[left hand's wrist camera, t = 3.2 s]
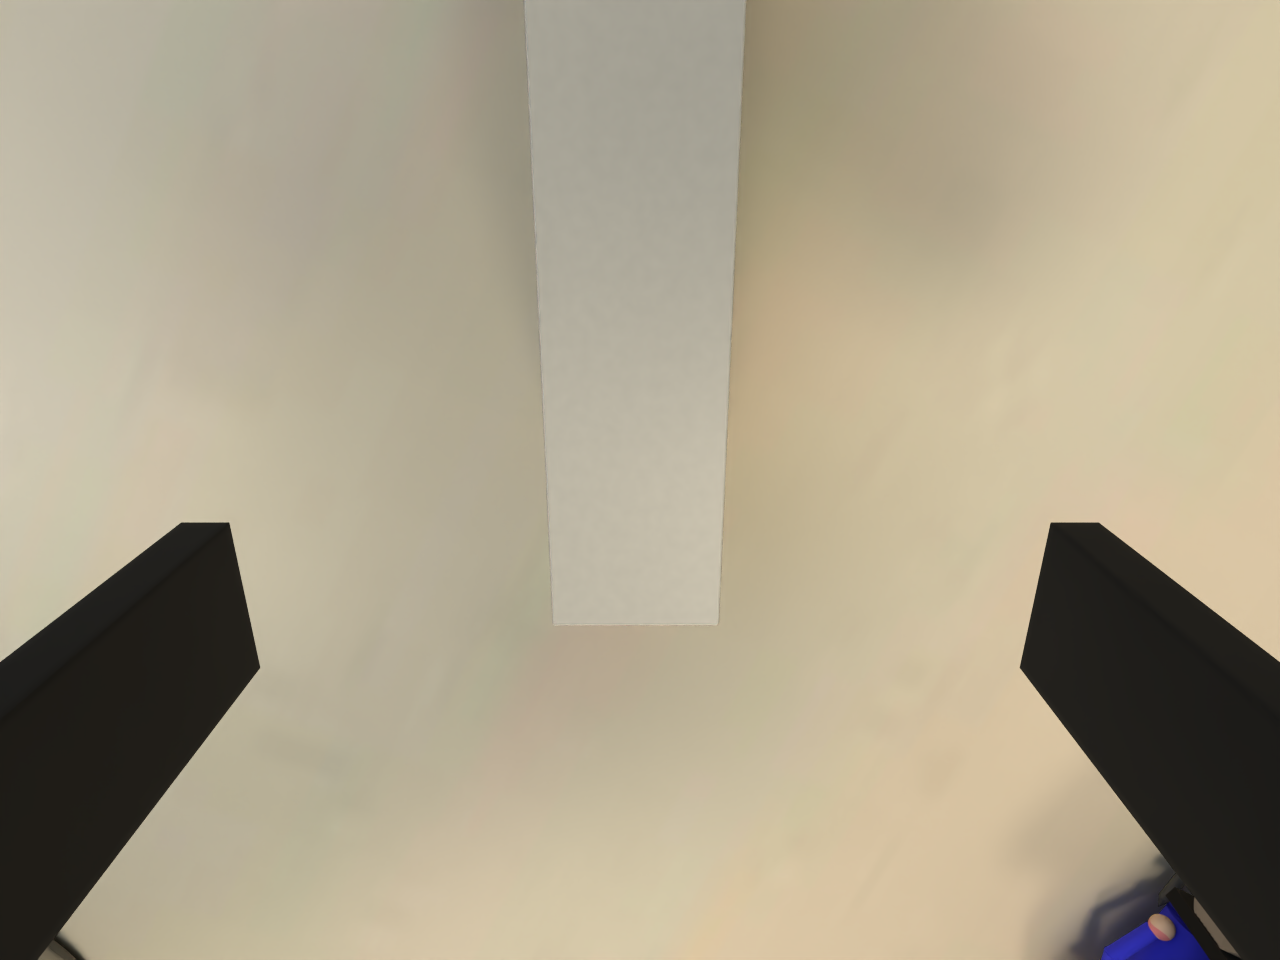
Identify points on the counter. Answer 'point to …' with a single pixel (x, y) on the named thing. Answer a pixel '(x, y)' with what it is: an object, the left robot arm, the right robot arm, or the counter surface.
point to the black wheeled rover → (1174, 932)
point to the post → (635, 297)
